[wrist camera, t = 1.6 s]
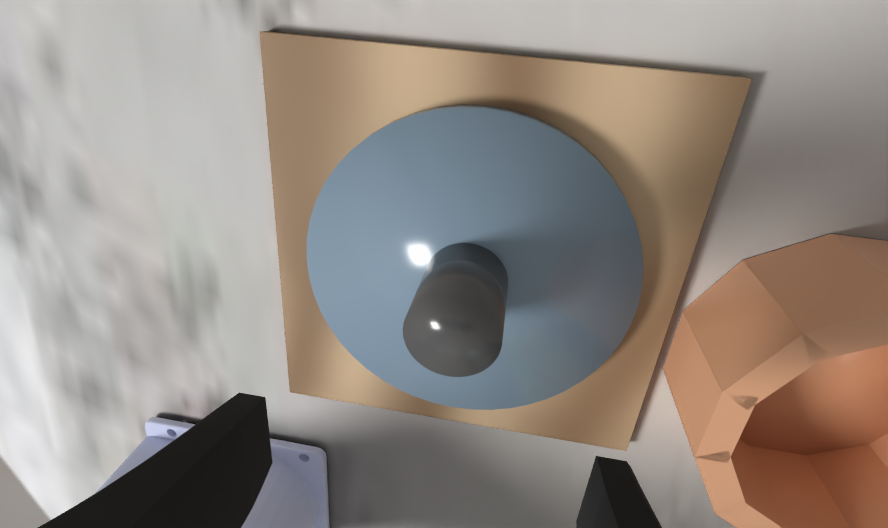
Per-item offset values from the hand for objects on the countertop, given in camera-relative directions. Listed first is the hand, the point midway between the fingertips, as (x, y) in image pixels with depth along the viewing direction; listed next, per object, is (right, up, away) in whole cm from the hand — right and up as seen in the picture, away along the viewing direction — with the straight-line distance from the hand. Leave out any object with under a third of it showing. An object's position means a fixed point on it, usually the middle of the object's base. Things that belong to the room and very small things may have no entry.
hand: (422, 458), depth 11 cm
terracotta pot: (+14, +1, +8) cm, 16 cm away
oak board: (+1, +4, +8) cm, 9 cm away
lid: (+1, +4, +8) cm, 9 cm away
